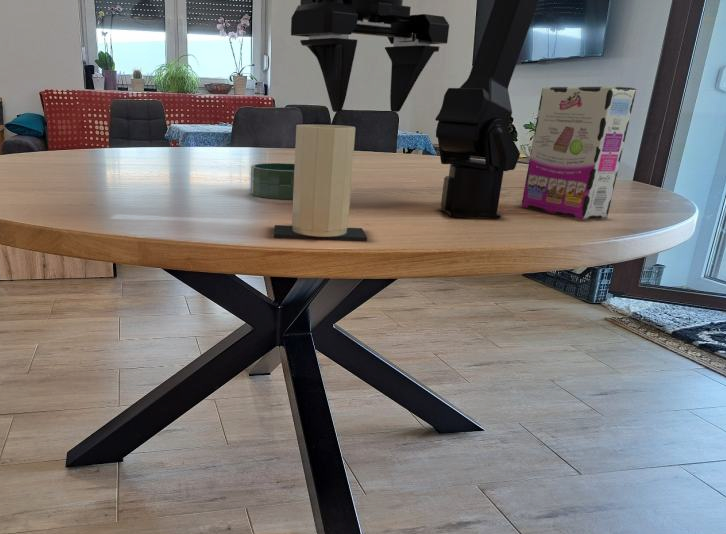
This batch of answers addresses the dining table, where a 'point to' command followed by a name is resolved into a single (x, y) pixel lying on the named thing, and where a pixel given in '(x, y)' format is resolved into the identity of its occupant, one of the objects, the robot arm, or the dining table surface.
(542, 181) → the candy bar box
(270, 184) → the bowl
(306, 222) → the cup
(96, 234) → the dining table surface
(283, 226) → the mat
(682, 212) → the dining table surface
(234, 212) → the dining table surface
